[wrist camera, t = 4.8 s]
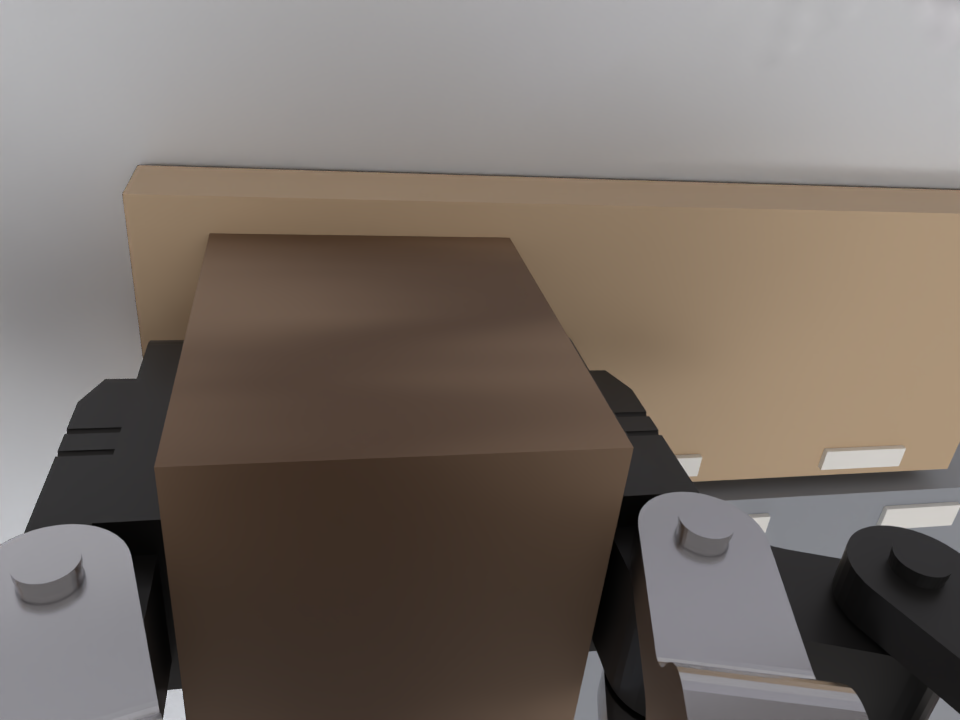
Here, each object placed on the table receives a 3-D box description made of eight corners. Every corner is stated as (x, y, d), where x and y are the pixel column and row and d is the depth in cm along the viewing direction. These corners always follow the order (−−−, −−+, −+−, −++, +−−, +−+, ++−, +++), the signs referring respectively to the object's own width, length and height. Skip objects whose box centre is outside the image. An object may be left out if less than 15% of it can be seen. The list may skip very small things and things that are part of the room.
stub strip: (1007, 191, 14) (1424, 377, 9) (907, 432, 17) (1190, 689, 11) (137, 164, 11) (1, 417, 6) (171, 462, 14) (95, 825, 8)
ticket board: (1265, 426, 19) (1340, 468, 18) (1072, 715, 24) (1120, 766, 22) (384, 463, 15) (394, 523, 13) (370, 805, 20) (376, 874, 18)
